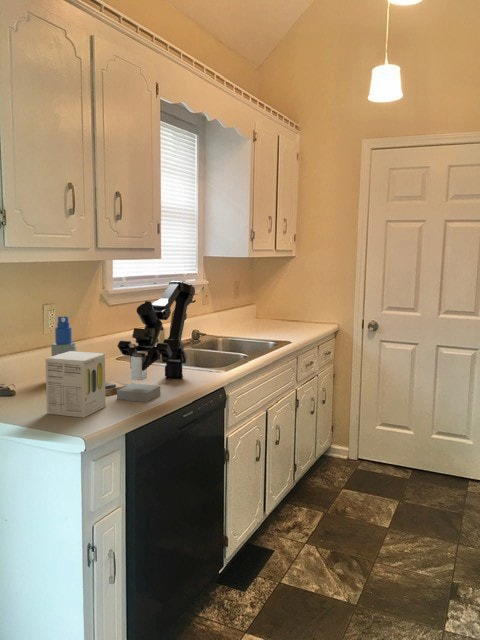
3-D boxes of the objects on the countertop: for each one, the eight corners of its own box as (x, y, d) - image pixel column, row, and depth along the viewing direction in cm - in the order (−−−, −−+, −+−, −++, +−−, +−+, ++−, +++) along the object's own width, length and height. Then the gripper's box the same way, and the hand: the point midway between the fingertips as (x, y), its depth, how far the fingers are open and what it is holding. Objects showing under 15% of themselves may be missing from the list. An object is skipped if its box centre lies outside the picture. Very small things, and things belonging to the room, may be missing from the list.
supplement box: (84, 418, 160) (82, 360, 158) (45, 414, 164) (44, 357, 162) (106, 406, 173) (105, 353, 171) (70, 402, 176) (69, 350, 174)
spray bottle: (76, 382, 204) (75, 317, 201) (51, 383, 201) (49, 317, 198) (76, 377, 212) (75, 314, 209) (52, 378, 210) (51, 315, 207)
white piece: (136, 377, 187) (136, 352, 186) (146, 378, 186) (146, 353, 185) (131, 379, 183) (130, 354, 182) (141, 380, 182) (141, 355, 181)
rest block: (132, 391, 192) (132, 383, 191) (160, 394, 189) (160, 385, 188) (116, 399, 181) (116, 390, 181) (146, 402, 178) (146, 393, 178)
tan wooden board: (116, 386, 199) (116, 378, 198) (130, 390, 193) (130, 382, 193) (88, 392, 190) (88, 384, 189) (101, 396, 184) (101, 388, 184)
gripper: (119, 317, 188) (103, 354, 179) (168, 320, 183) (154, 358, 174) (130, 336, 197) (115, 372, 188) (177, 339, 192) (165, 376, 182)
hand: (137, 369), depth 183 cm, fingers closed on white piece, 4 cm apart
